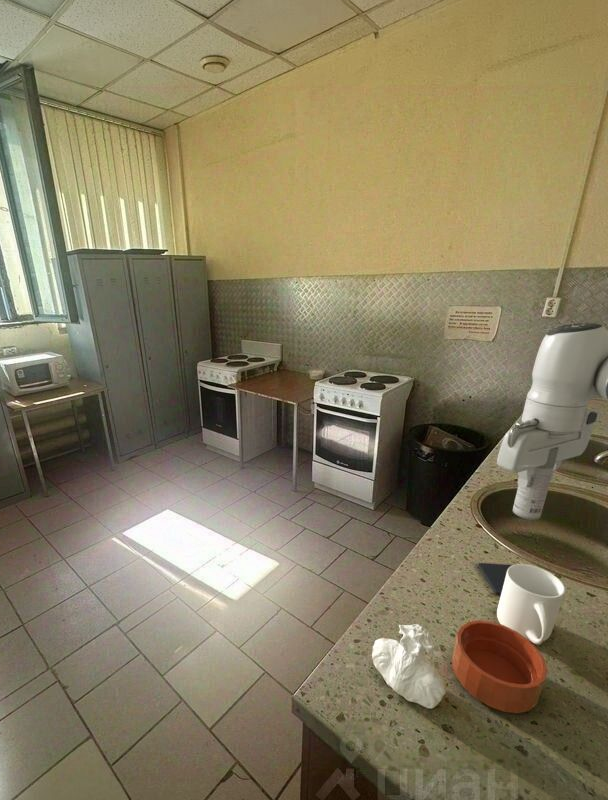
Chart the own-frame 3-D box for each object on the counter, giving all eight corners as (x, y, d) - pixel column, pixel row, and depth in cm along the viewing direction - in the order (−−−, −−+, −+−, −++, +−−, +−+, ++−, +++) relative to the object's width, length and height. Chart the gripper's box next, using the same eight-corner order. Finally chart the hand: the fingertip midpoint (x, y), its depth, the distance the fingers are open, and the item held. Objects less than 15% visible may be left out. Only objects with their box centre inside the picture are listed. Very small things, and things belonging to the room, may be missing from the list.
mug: (506, 653, 69) (520, 606, 65) (491, 603, 80) (501, 560, 76) (565, 666, 66) (582, 618, 63) (541, 612, 77) (554, 568, 73)
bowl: (514, 649, 70) (522, 623, 68) (554, 720, 58) (565, 692, 56) (441, 642, 71) (446, 617, 69) (467, 710, 60) (474, 683, 58)
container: (540, 511, 80) (559, 443, 74) (540, 522, 76) (559, 451, 71) (513, 504, 82) (529, 438, 77) (511, 515, 79) (528, 446, 73)
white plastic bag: (441, 718, 61) (470, 651, 62) (426, 725, 56) (457, 651, 57) (373, 665, 70) (400, 607, 71) (355, 667, 65) (384, 604, 66)
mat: (520, 568, 89) (521, 565, 89) (542, 598, 80) (543, 595, 80) (478, 565, 90) (478, 562, 90) (495, 594, 82) (496, 591, 81)
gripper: (530, 429, 65) (513, 501, 70) (606, 412, 72) (585, 479, 77) (495, 418, 71) (481, 486, 76) (569, 403, 78) (551, 466, 83)
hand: (534, 482), depth 77 cm, fingers closed on container, 4 cm apart
